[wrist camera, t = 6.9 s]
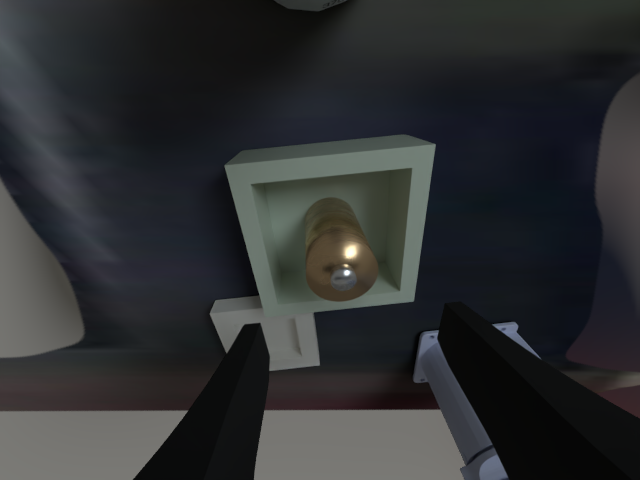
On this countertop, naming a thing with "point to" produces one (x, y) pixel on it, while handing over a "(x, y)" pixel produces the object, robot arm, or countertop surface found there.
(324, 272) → the cell
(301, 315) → the white square recessed tray
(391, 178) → the grey-green square tray
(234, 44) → the countertop surface
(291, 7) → the supplement can
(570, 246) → the countertop surface
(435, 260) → the countertop surface
